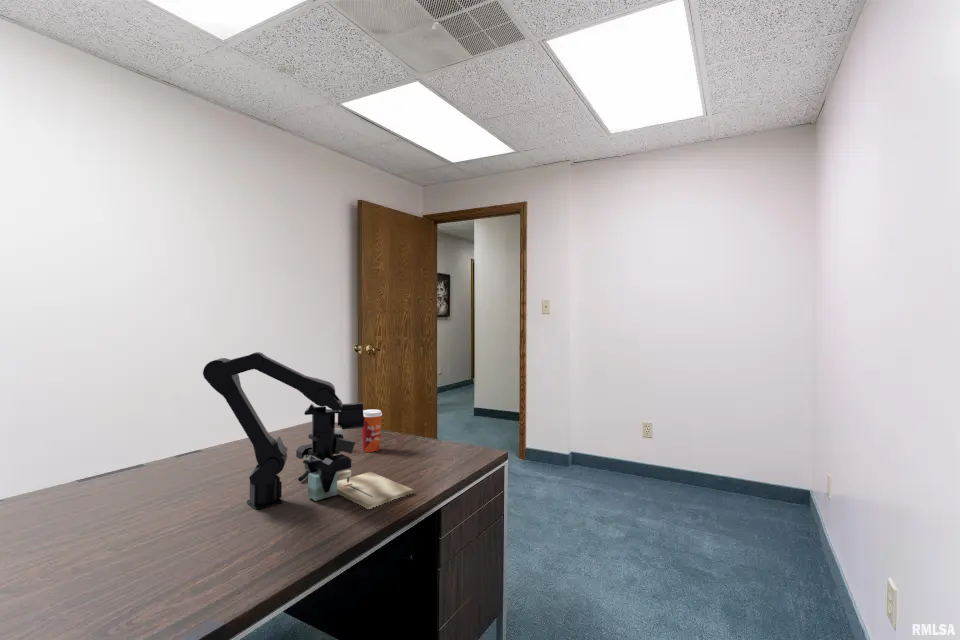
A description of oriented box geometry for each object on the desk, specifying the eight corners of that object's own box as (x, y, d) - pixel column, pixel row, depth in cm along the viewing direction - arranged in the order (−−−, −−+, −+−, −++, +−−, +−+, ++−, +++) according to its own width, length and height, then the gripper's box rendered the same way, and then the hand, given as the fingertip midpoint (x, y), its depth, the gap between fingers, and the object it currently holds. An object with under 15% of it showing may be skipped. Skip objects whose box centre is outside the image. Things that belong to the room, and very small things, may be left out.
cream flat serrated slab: (368, 509, 111) (368, 504, 111) (327, 488, 124) (327, 483, 124) (412, 493, 121) (412, 489, 121) (370, 475, 134) (370, 471, 134)
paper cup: (369, 454, 155) (370, 414, 155) (355, 450, 160) (356, 411, 159) (387, 449, 161) (387, 410, 161) (373, 445, 166) (373, 408, 166)
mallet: (315, 501, 114) (315, 477, 114) (307, 496, 117) (308, 473, 117) (353, 489, 122) (353, 467, 122) (345, 485, 125) (346, 464, 125)
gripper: (370, 431, 117) (369, 491, 117) (333, 419, 130) (332, 473, 130) (330, 439, 109) (329, 503, 109) (295, 426, 122) (294, 483, 122)
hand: (322, 489), depth 118 cm, fingers closed on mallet, 4 cm apart
